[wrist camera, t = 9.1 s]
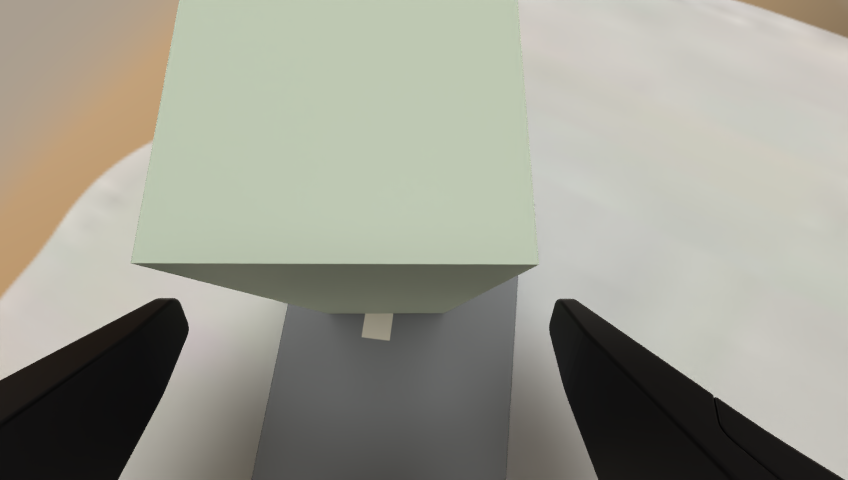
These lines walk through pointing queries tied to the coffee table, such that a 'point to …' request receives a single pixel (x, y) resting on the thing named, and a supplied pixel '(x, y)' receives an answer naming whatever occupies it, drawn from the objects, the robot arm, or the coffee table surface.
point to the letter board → (392, 394)
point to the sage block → (343, 153)
